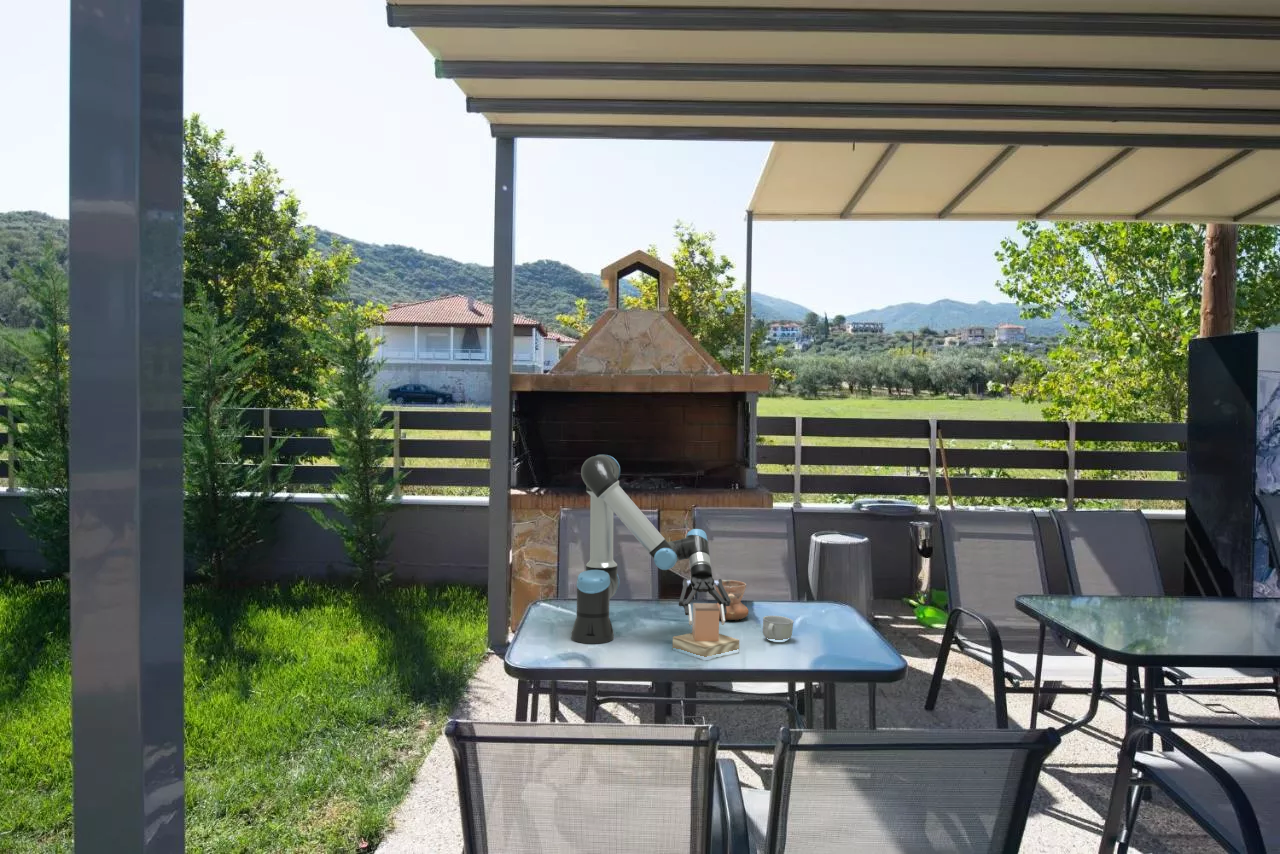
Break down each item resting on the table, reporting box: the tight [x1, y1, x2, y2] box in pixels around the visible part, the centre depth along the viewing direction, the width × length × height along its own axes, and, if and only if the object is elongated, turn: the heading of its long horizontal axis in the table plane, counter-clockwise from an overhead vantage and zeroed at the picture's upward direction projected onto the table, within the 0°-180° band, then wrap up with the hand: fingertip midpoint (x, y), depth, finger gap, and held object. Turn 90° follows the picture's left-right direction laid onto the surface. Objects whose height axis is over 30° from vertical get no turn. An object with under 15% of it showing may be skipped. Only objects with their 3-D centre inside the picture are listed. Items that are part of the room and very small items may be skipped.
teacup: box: [762, 615, 794, 640], centre depth 312 cm, size 14×11×8 cm
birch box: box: [672, 632, 740, 657], centre depth 298 cm, size 16×16×5 cm
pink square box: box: [691, 602, 720, 641], centre depth 298 cm, size 8×8×11 cm
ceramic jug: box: [714, 579, 749, 621], centre depth 346 cm, size 18×14×14 cm
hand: (707, 622), depth 296 cm, fingers open, 10 cm apart
